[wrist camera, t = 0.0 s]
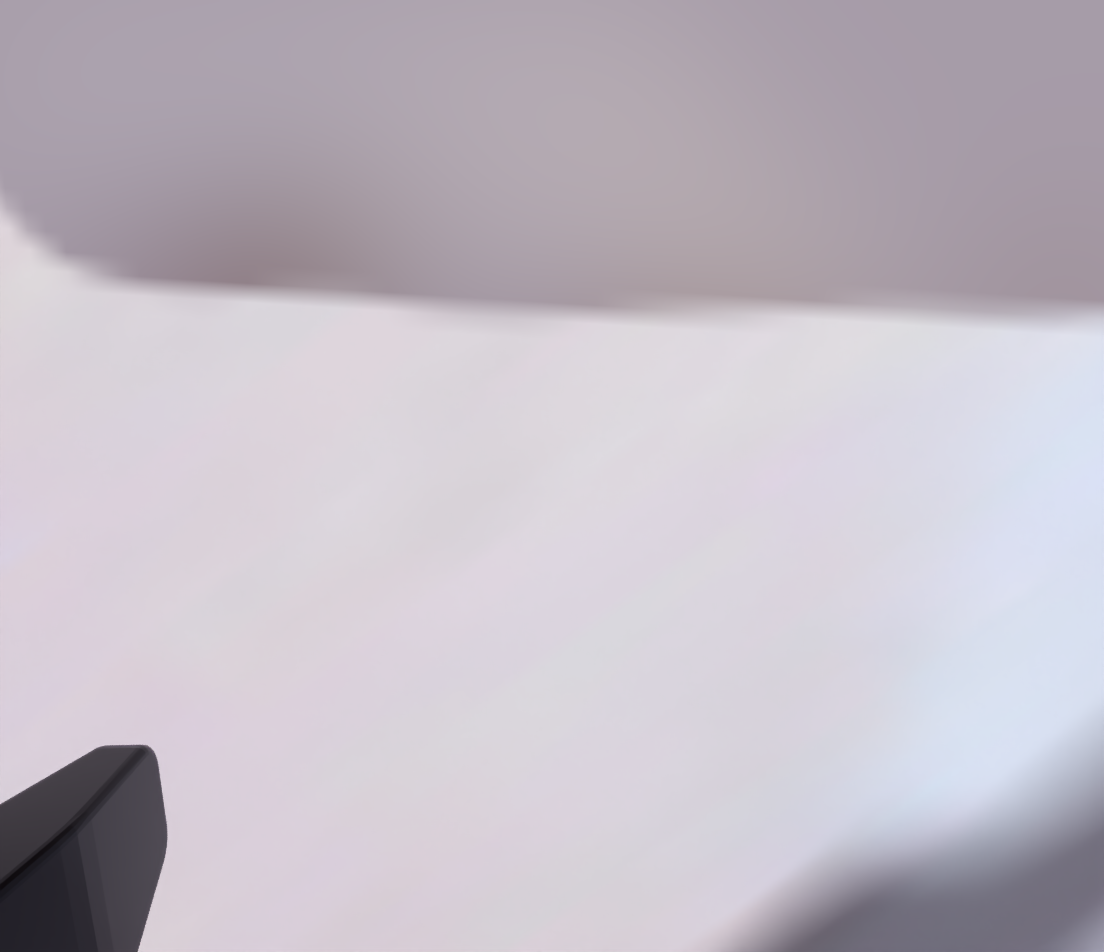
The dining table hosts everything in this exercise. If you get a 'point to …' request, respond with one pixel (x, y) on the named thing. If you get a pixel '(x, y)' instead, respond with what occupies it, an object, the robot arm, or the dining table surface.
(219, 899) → the dining table surface
